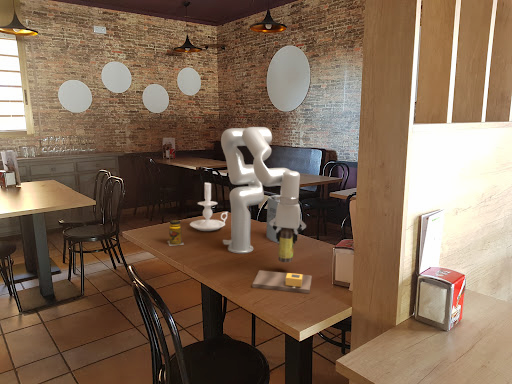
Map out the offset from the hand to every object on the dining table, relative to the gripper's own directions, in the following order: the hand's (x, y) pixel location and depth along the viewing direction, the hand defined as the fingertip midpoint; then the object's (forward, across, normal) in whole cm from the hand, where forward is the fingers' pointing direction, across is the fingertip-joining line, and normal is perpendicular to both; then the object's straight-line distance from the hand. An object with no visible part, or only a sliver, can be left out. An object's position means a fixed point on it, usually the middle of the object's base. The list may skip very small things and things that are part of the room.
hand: (286, 241), depth 166 cm
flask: (+15, -10, +42) cm, 46 cm away
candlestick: (+16, -51, +54) cm, 76 cm away
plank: (+13, +1, -13) cm, 18 cm away
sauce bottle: (+9, 0, 0) cm, 9 cm away
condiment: (+16, -60, +23) cm, 66 cm away
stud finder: (+11, +6, -16) cm, 21 cm away
